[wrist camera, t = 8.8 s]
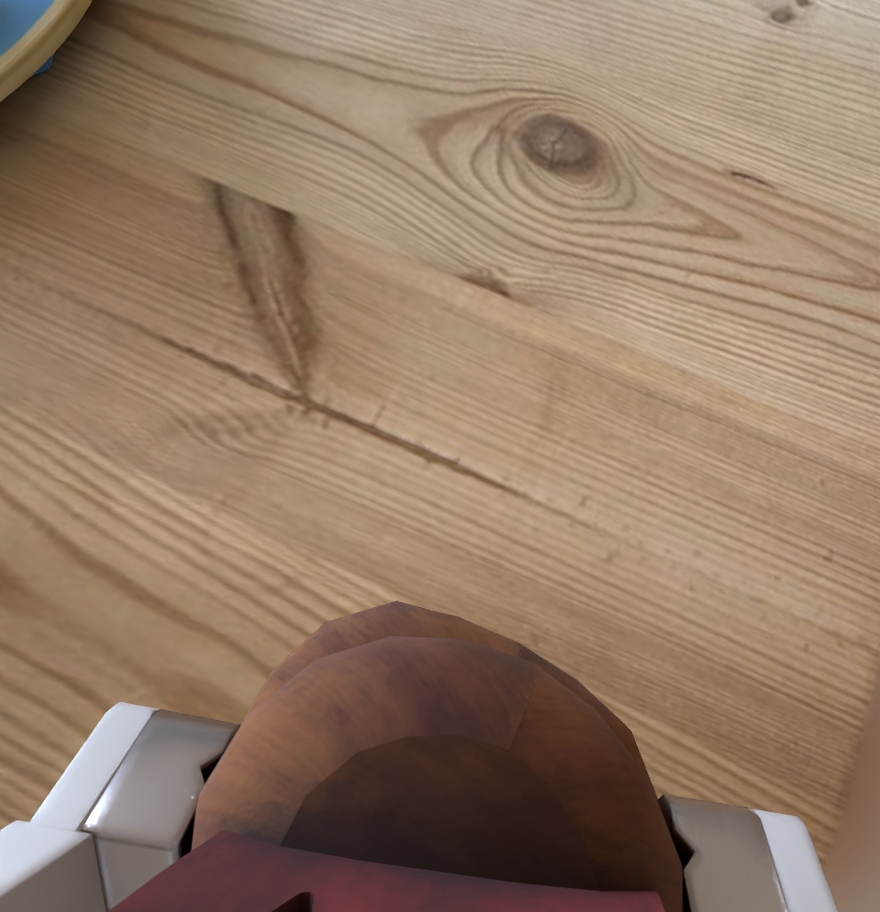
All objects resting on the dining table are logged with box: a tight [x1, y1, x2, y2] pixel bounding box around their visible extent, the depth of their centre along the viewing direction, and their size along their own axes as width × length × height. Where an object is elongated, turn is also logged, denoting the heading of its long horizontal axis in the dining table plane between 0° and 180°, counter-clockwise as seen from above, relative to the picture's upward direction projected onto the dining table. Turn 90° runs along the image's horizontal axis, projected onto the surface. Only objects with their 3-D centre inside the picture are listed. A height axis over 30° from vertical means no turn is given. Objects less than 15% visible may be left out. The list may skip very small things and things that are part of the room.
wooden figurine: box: [108, 601, 683, 912], centre depth 9 cm, size 7×6×15 cm
